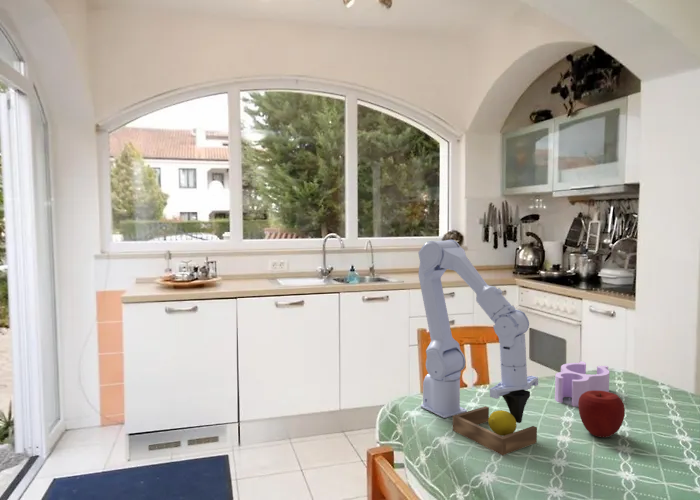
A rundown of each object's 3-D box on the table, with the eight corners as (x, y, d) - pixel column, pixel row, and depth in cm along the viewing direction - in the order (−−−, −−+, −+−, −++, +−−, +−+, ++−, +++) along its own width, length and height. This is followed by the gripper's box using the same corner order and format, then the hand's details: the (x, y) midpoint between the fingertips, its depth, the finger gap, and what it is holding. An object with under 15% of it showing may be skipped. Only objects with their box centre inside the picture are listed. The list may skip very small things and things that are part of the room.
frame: (452, 430, 120) (452, 415, 120) (485, 420, 126) (485, 406, 125) (502, 455, 107) (502, 439, 107) (536, 442, 113) (537, 427, 113)
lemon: (526, 432, 116) (506, 426, 111) (507, 442, 118) (487, 437, 114) (517, 409, 119) (497, 403, 115) (498, 419, 122) (478, 414, 117)
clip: (590, 411, 131) (590, 384, 131) (543, 399, 140) (543, 374, 140) (616, 391, 145) (617, 368, 145) (572, 382, 154) (572, 359, 154)
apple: (580, 422, 124) (581, 382, 123) (624, 430, 119) (626, 388, 118) (575, 437, 116) (576, 394, 115) (623, 446, 111) (624, 401, 110)
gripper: (506, 373, 111) (509, 435, 111) (548, 361, 118) (550, 418, 119) (481, 367, 117) (484, 425, 117) (523, 355, 124) (525, 410, 125)
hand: (516, 421), depth 118 cm, fingers closed, pressing on lemon
